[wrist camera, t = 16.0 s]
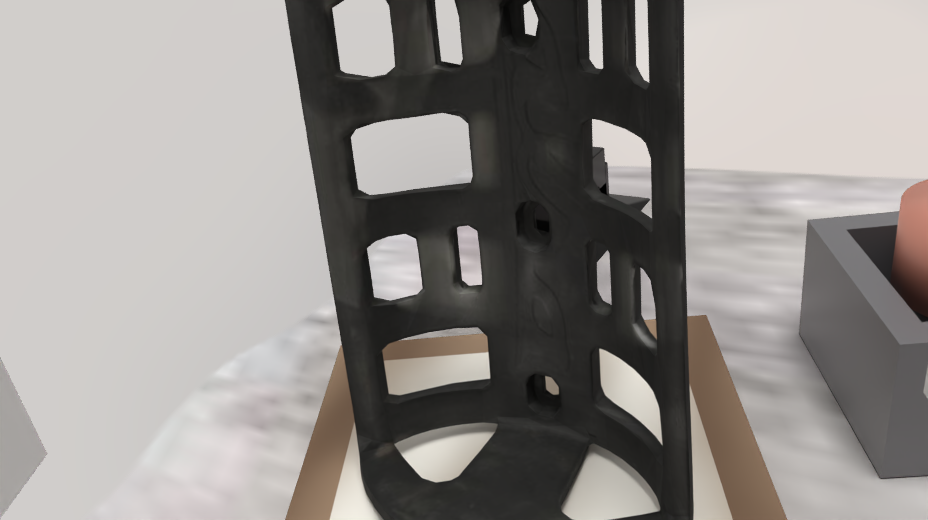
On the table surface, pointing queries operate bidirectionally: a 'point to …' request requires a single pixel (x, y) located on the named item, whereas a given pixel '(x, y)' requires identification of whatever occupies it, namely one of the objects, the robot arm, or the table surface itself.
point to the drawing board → (602, 473)
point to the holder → (511, 249)
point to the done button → (912, 249)
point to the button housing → (867, 338)
